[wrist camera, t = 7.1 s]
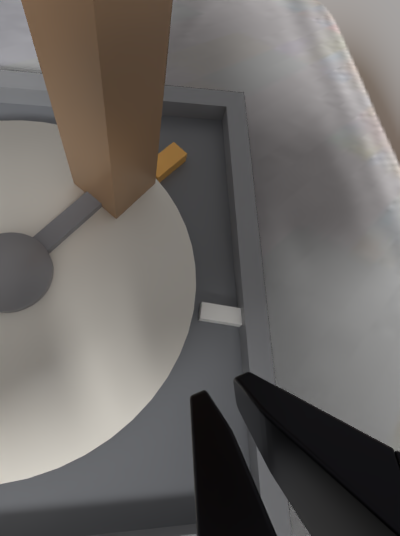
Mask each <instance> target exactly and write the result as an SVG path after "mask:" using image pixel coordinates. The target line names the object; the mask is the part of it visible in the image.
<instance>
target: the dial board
mask: <svg viewBox="0 0 400 536" xmlns="http://www.w3.org/2000/svg"><path fill="white" fill-rule="evenodd" d="M10 120H24V121H36V122H46V123H51V124H56V125H57V123H56V119H55V116H54V112H53V109H52V105H51V102H50V99H49V95H48V92H47V88H46V85H45V81H44V78H43V74H42V73H32V72H21V71H11V70H0V121H10ZM156 179H157V180H158V181H159V183H160V184H161V185H162V186H163V187H164V189H165V190H166V191H167V193H168V194H169V196H170V197H171V199H172V200H173V202H174V203H175V205H176V207H177V208H178V210H179V213H180V215H181V217H182V219H183V221H184V223H185V225H186V228H187V231H188V235H189V238H190V241H191V244H192V249H193V255H194V261H195V269H196V293H195V303H194V311H193V315H192V319H191V323H190V327H189V332H188V335H187V337H186V340H185V342H184V345H183V348H182V350H181V353H180V355H179V357H178V359H177V361H176V363H175V364H174V366H173V368H172V370H171V372H170V374H169V376H168V377H167V379H166V380H165V382H164V383H163V384H162V386H161V387H160V389H159V390H158V391H157V393H156V394H155V396H154V397H153V398H152V400H151V401H150V402H149V403H148V404H147V405H146V406H145V407H144V408H143V409H142V410H141V411H140V413H139V414H138V415H137V416H136V417H135V418H134V419H133V420H132V421H131V422H130V423H128V424H127V425H126V426H125V427H124V428H122V429H121V430H120V431H119V432H118V433H116V434H115V435H114V436H113V437H112V438H110V439H109V440H107V441H106V442H104V443H103V444H101V445H100V446H98V447H97V448H95V449H94V450H92V451H91V452H89V453H87V454H86V455H84V456H82V457H80V458H78V459H76V460H74V461H72V462H70V463H68V464H66V465H64V466H62V467H59V468H57V469H54V470H51V471H48V472H46V473H43V474H40V475H37V476H34V477H31V478H28V479H23V480H18V481H13V482H8V483H3V484H0V536H197V531H196V512H195V493H194V474H193V456H192V437H191V418H190V396H191V395H193V394H195V393H197V392H200V391H202V390H206V391H207V392H208V393H209V395H210V396H211V398H212V399H213V401H214V403H215V404H216V406H217V407H218V409H219V410H220V412H221V413H222V415H223V417H224V418H225V420H226V421H227V423H228V424H229V426H230V428H231V429H232V431H233V433H234V435H235V438H236V440H237V442H238V445H239V447H240V449H241V452H242V454H243V456H244V459H245V461H246V463H247V466H248V468H249V471H250V473H251V475H252V478H253V480H254V482H255V485H256V487H257V490H258V492H259V494H260V497H261V499H262V501H263V504H264V506H265V508H266V511H267V513H268V516H269V518H270V520H271V523H272V525H273V527H274V530H275V532H276V534H277V536H292V531H291V521H290V512H289V503H288V499H287V498H286V496H285V495H284V493H283V491H282V490H281V488H280V487H279V485H278V484H277V482H276V481H275V479H274V477H273V476H272V474H271V472H270V471H269V469H268V467H267V465H266V463H265V461H264V459H263V457H262V455H261V453H260V451H259V450H258V448H257V446H256V444H255V442H254V440H253V438H252V436H251V434H250V432H249V430H248V428H247V426H246V424H245V422H244V420H243V418H242V416H241V414H240V412H239V409H238V407H237V404H236V398H235V391H234V384H233V380H234V378H235V377H236V376H238V375H241V374H243V373H246V372H251V373H253V374H255V375H257V376H259V377H261V378H263V379H264V380H266V381H268V382H270V383H272V384H274V385H276V383H275V374H274V365H273V355H272V346H271V337H270V328H269V318H268V309H267V300H266V291H265V282H264V272H263V263H262V254H261V245H260V235H259V226H258V217H257V208H256V199H255V189H254V180H253V171H252V162H251V152H250V143H249V134H248V125H247V116H246V106H245V97H244V93H243V92H233V91H222V90H211V89H201V88H190V87H180V86H169V85H165V86H164V96H163V107H162V117H161V128H160V139H159V149H158V160H157V170H156Z"/></svg>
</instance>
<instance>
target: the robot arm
mask: <svg viewBox="0 0 400 536" xmlns="http://www.w3.org/2000/svg"><path fill="white" fill-rule="evenodd" d="M233 384H234V391H235V398H236V404H237V407H238V409H239V412H240V414H241V416H242V418H243V420H244V422H245V424H246V426H247V428H248V430H249V432H250V434H251V436H252V438H253V440H254V442H255V444H256V446H257V448H258V450H259V451H260V453H261V455H262V457H263V459H264V461H265V463H266V465H267V467H268V469H269V471H270V472H271V474H272V476H273V477H274V479H275V481H276V482H277V484H278V485H279V487H280V488H281V490H282V491H283V493H284V495H285V496H286V498H287V499H288V501H289V502H290V504H291V505H292V507H293V508H294V510H295V512H296V513H297V515H298V516H299V518H300V519H301V521H302V522H303V524H304V525H305V527H306V529H307V530H308V532H309V533H310V535H311V536H400V452H399V451H395V452H394V450H393V448H391V447H389V446H387V445H385V444H384V443H382V442H380V441H378V440H376V439H374V438H372V437H371V436H369V435H367V434H365V433H363V432H361V431H359V430H358V429H356V428H354V427H352V426H350V425H348V424H346V423H344V422H343V421H341V420H339V419H337V418H335V417H333V416H331V415H330V414H328V413H326V412H324V411H322V410H320V409H318V408H317V407H315V406H313V405H311V404H309V403H307V402H305V401H304V400H302V399H300V398H298V397H296V396H294V395H292V394H290V393H289V392H287V391H285V390H283V389H281V388H279V387H277V386H276V385H274V384H272V383H270V382H268V381H266V380H264V379H263V378H261V377H259V376H257V375H255V374H253V373H251V372H246V373H243V374H241V375H238V376H236V377H235V378H234V380H233ZM190 418H191V437H192V456H193V474H194V493H195V512H196V531H197V536H277V534H276V532H275V530H274V527H273V525H272V523H271V520H270V518H269V516H268V513H267V511H266V508H265V506H264V504H263V501H262V499H261V497H260V494H259V492H258V490H257V487H256V485H255V482H254V480H253V478H252V475H251V473H250V471H249V468H248V466H247V463H246V461H245V459H244V456H243V454H242V452H241V449H240V447H239V445H238V442H237V440H236V438H235V435H234V433H233V431H232V429H231V428H230V426H229V424H228V423H227V421H226V420H225V418H224V417H223V415H222V413H221V412H220V410H219V409H218V407H217V406H216V404H215V403H214V401H213V399H212V398H211V396H210V395H209V393H208V392H207V391H206V390H202V391H200V392H197V393H195V394H193V395H191V396H190Z"/></svg>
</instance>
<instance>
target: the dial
mask: <svg viewBox="0 0 400 536" xmlns="http://www.w3.org/2000/svg"><path fill="white" fill-rule="evenodd" d="M21 1H22V5H23V8H24V12H25V15H26V19H27V22H28V26H29V29H30V32H31V36H32V39H33V43H34V46H35V50H36V53H37V57H38V60H39V64H40V67H41V71H42V74H43V78H44V81H45V85H46V88H47V92H48V95H49V99H50V102H51V105H52V109H53V112H54V116H55V119H56V123H57V125H56V124H51V123H46V122H36V121H24V120H10V121H0V484H3V483H8V482H13V481H18V480H23V479H28V478H31V477H34V476H37V475H40V474H43V473H46V472H48V471H51V470H54V469H57V468H59V467H62V466H64V465H66V464H68V463H70V462H72V461H74V460H76V459H78V458H80V457H82V456H84V455H86V454H87V453H89V452H91V451H92V450H94V449H95V448H97V447H98V446H100V445H101V444H103V443H104V442H106V441H107V440H109V439H110V438H112V437H113V436H114V435H115V434H116V433H118V432H119V431H120V430H121V429H122V428H124V427H125V426H126V425H127V424H128V423H130V422H131V421H132V420H133V419H134V418H135V417H136V416H137V415H138V414H139V413H140V411H141V410H142V409H143V408H144V407H145V406H146V405H147V404H148V403H149V402H150V401H151V400H152V398H153V397H154V396H155V394H156V393H157V391H158V390H159V389H160V387H161V386H162V384H163V383H164V382H165V380H166V379H167V377H168V376H169V374H170V372H171V370H172V368H173V366H174V364H175V363H176V361H177V359H178V357H179V355H180V353H181V350H182V348H183V345H184V342H185V340H186V337H187V335H188V332H189V327H190V323H191V319H192V315H193V311H194V303H195V293H196V269H195V261H194V255H193V249H192V244H191V241H190V238H189V235H188V231H187V228H186V225H185V223H184V221H183V219H182V217H181V215H180V213H179V210H178V208H177V207H176V205H175V203H174V202H173V200H172V199H171V197H170V196H169V194H168V193H167V191H166V190H165V189H164V187H163V186H162V185H161V184H160V183H159V181H158V180H157V179H156V170H157V160H158V149H159V139H160V128H161V117H162V107H163V96H164V86H165V75H166V65H167V54H168V44H169V33H170V22H171V12H172V1H173V0H21Z"/></svg>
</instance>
